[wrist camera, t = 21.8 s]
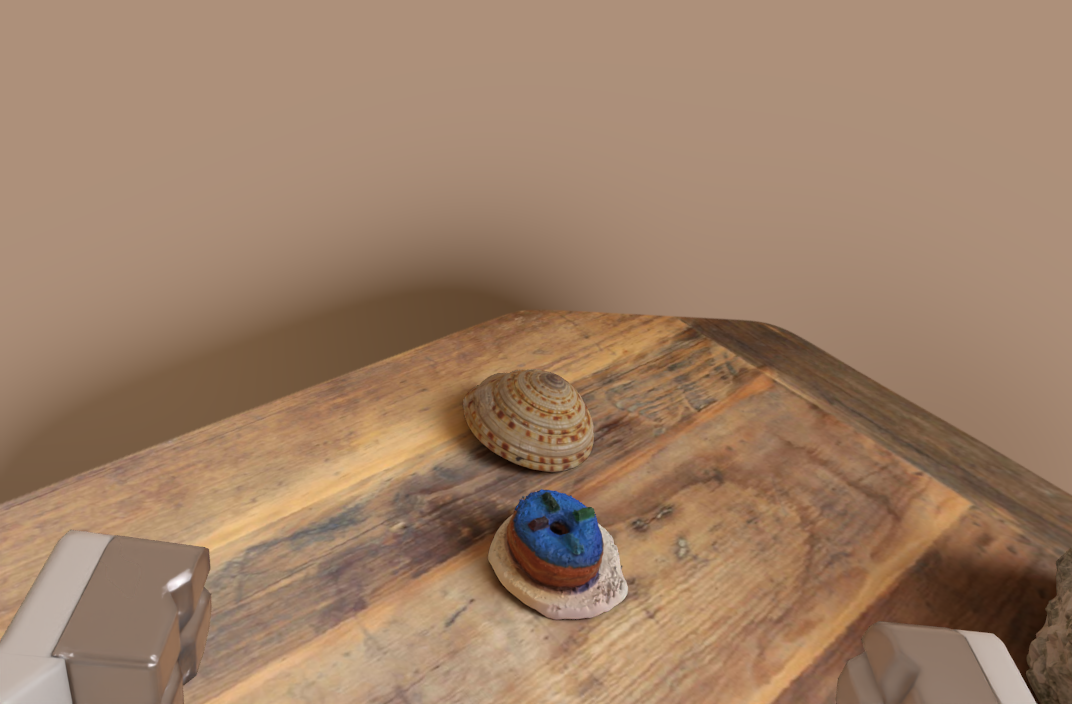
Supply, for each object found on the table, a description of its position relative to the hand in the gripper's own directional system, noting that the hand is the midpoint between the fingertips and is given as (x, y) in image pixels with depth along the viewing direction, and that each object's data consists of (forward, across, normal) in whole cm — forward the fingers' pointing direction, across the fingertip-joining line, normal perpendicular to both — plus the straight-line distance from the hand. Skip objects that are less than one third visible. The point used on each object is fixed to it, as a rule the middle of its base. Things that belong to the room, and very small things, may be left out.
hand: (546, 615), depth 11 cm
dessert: (+26, -7, +28) cm, 39 cm away
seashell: (+37, -5, +28) cm, 47 cm away
